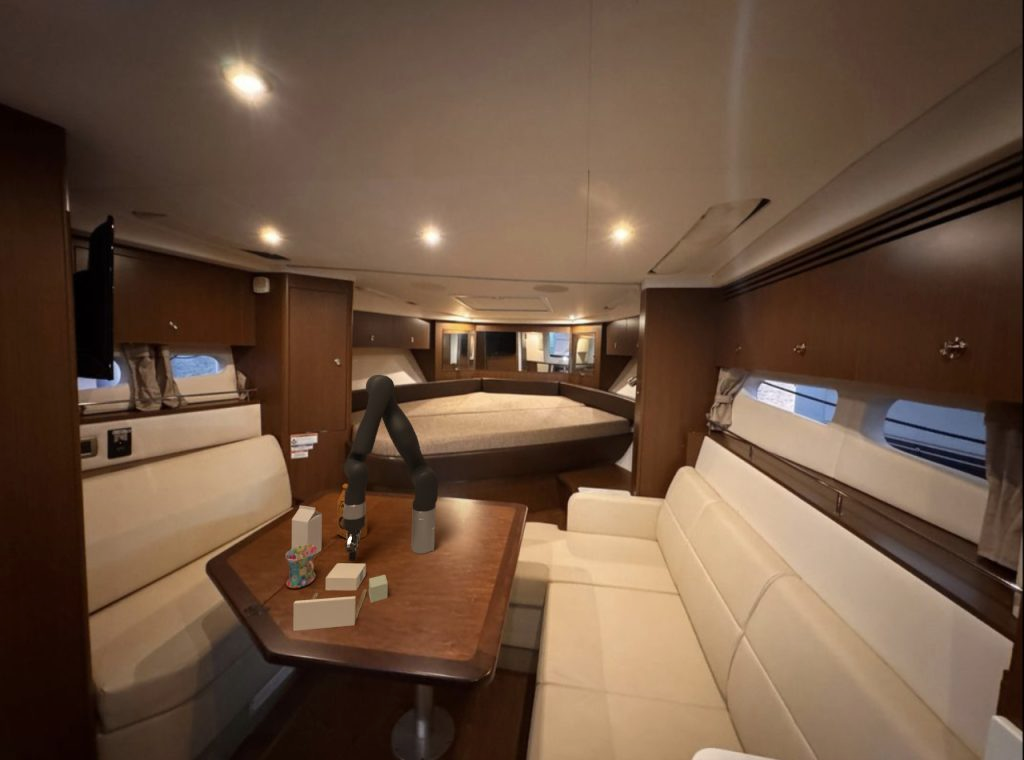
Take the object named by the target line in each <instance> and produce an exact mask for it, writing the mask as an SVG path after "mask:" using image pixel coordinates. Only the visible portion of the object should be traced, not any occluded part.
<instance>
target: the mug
mask: <svg viewBox="0 0 1024 760" xmlns="http://www.w3.org/2000/svg"><path fill="white" fill-rule="evenodd" d="M316 552H317V547H316V546H314V545H301V546H298V547H295V548H293V549H292V548H291V549H289V550H287V552H286V553H285V554H284V558H285V560H286V562H287V565H288V567H289V570H288V571H289V573H288V578H287V580H286V583H285V585H286V587H288V588H290V589H300V588H304V587H306V586H308V585H309V584H311V583H312V582H313V581H314V580H315V579H316V573H315V571H314V569H315V566H314V560H315V559H314V558H315V556H316V555H317V554H316ZM315 554H316V555H315Z"/></svg>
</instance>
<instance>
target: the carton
mask: <svg viewBox="0 0 1024 760" xmlns="http://www.w3.org/2000/svg"><path fill="white" fill-rule="evenodd" d="M366 571H367V564H366V563H350V562H349V563H342V562H341V563H339V562H337V563H336V564H335V565H334V566H333V568H332V569H331V570H330V572H329V573H328V574H327V576H326V577H325V591H357V590H358V588H359V587H360V585H361V584H362V582H363V580H364V578H365V577H366V575H367V572H366Z"/></svg>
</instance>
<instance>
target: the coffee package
mask: <svg viewBox="0 0 1024 760" xmlns="http://www.w3.org/2000/svg"><path fill="white" fill-rule="evenodd" d="M347 487H348V483H344V484H342V488H343V489H342V492H341V493H340V495H339V497H338V500H337V502H336V535H338V536H340V537H342V538H345V539H346V540H347V538H346V536H347V533H348V531H347V530H344V529H343V509H344V499H345V490H346V488H347ZM365 504H366V516H365V525H364V527H363V528H362V530H361V535H360V539H363V538H365V537H367V536H368V521H369V519H368V508H367V502H366V501H365Z"/></svg>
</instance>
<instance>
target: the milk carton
mask: <svg viewBox="0 0 1024 760" xmlns="http://www.w3.org/2000/svg"><path fill="white" fill-rule="evenodd" d="M322 522H323V514H322V513H321V512H319V511H317V510H316V507H315V506H314V507H313V506H307V505H299V508H298V509H297V511H296V513H295V514H294V516H293V517H292V519H291V549H293V548H295V547H298V546H301V545H314V546H316V547H317V552H316V554H315V556H316V555H317V554H319V553H320V552H321V551H322V542H323V541H322V540H323V539H322V537H323V534H322V531H323V530H322V529H323V528H322V527H323V525H322V524H323V523H322Z"/></svg>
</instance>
